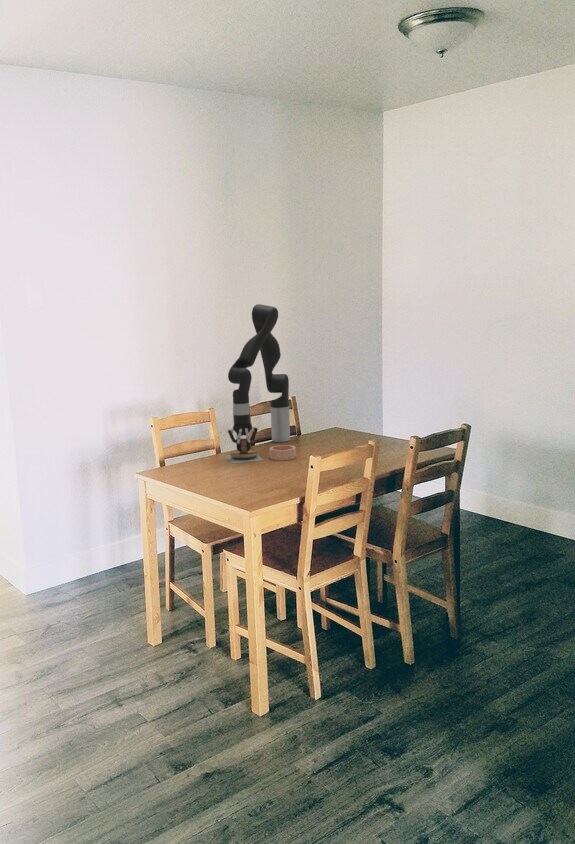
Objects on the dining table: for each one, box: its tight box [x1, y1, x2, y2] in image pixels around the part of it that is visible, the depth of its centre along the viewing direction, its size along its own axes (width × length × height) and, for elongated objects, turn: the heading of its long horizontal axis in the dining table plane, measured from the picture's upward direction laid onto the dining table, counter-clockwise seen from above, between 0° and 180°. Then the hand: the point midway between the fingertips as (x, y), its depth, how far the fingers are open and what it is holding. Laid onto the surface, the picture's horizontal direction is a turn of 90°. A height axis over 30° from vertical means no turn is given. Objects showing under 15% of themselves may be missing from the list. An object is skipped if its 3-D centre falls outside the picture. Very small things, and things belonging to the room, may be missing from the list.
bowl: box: [268, 444, 297, 462], centre depth 316 cm, size 11×11×5 cm
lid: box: [230, 437, 258, 458], centre depth 318 cm, size 12×12×7 cm
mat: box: [225, 453, 264, 464], centre depth 319 cm, size 16×14×1 cm
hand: (243, 450), depth 318 cm, fingers closed on lid, 3 cm apart
